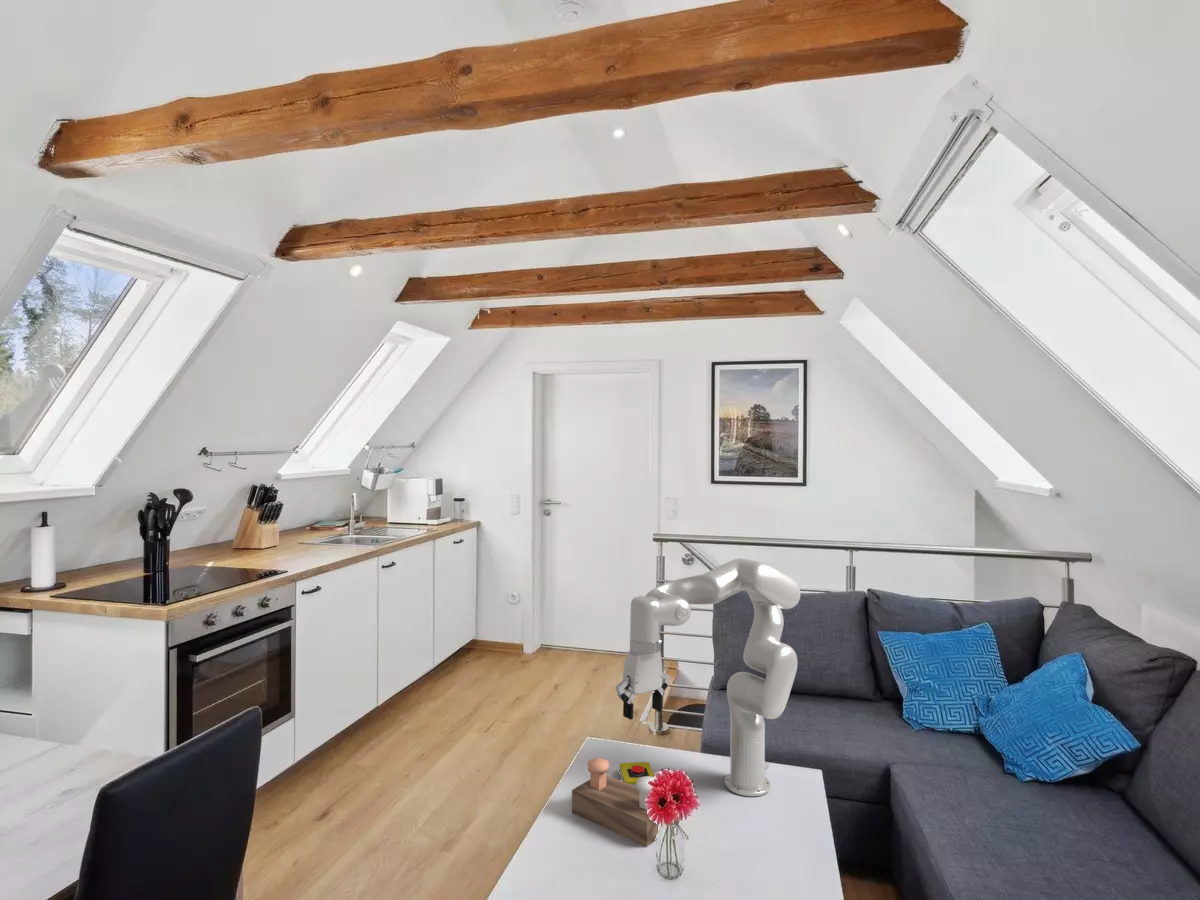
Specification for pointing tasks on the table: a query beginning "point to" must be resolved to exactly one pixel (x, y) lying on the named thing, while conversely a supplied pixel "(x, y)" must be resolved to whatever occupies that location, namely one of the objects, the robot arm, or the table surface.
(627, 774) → the emergency button
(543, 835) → the table surface
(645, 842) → the press console
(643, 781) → the white glossy ovoid
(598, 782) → the peach round knob
